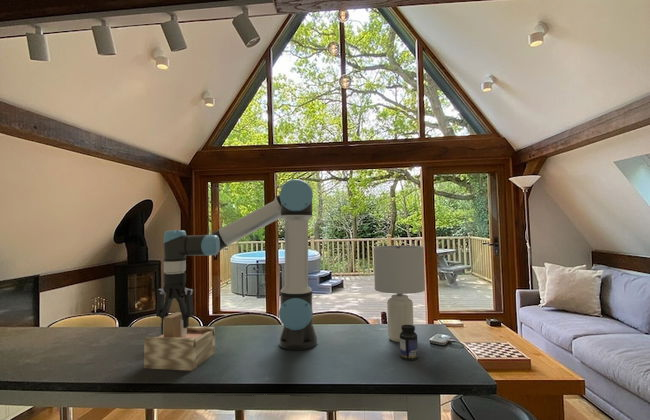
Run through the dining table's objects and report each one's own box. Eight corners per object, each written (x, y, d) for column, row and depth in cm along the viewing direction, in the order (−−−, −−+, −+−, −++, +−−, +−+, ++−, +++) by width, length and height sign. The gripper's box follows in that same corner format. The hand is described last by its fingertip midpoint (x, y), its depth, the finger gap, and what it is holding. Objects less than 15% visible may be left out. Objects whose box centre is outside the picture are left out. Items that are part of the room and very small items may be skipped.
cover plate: (209, 335, 134) (208, 310, 135) (189, 347, 121) (189, 320, 121) (169, 334, 137) (169, 310, 137) (146, 346, 124) (146, 319, 124)
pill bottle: (418, 355, 129) (417, 324, 129) (417, 361, 123) (416, 329, 124) (401, 353, 131) (400, 323, 131) (399, 359, 125) (398, 327, 126)
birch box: (215, 353, 135) (214, 326, 135) (192, 370, 119) (192, 340, 120) (171, 351, 138) (171, 325, 138) (144, 368, 122) (144, 338, 123)
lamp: (376, 347, 138) (374, 246, 140) (375, 331, 158) (373, 244, 160) (430, 348, 136) (427, 246, 137) (422, 332, 156) (419, 243, 158)
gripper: (204, 271, 132) (204, 334, 131) (157, 271, 136) (157, 332, 135) (193, 273, 125) (193, 340, 124) (144, 273, 128) (144, 338, 127)
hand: (175, 336), depth 129 cm, fingers closed on cover plate, 6 cm apart
